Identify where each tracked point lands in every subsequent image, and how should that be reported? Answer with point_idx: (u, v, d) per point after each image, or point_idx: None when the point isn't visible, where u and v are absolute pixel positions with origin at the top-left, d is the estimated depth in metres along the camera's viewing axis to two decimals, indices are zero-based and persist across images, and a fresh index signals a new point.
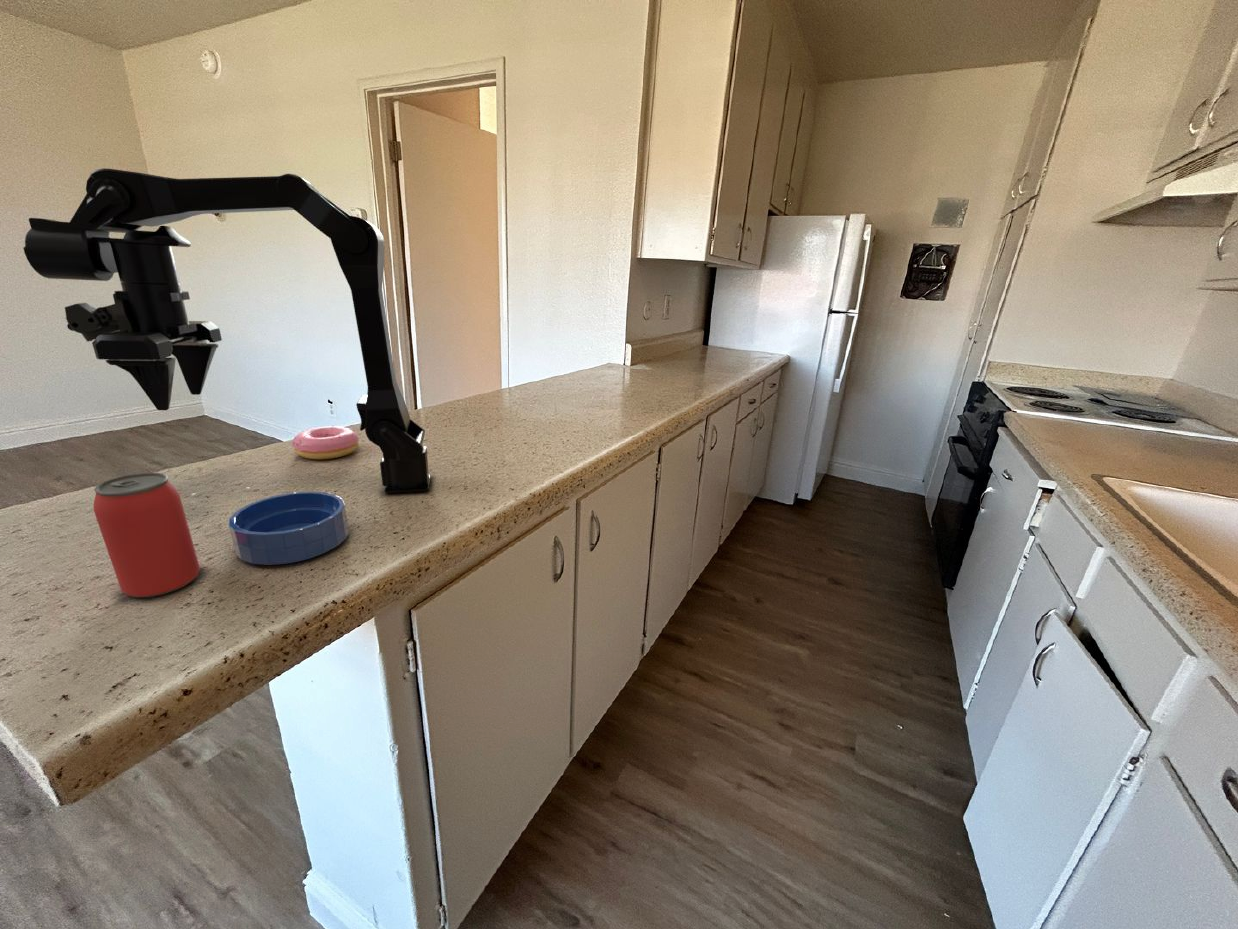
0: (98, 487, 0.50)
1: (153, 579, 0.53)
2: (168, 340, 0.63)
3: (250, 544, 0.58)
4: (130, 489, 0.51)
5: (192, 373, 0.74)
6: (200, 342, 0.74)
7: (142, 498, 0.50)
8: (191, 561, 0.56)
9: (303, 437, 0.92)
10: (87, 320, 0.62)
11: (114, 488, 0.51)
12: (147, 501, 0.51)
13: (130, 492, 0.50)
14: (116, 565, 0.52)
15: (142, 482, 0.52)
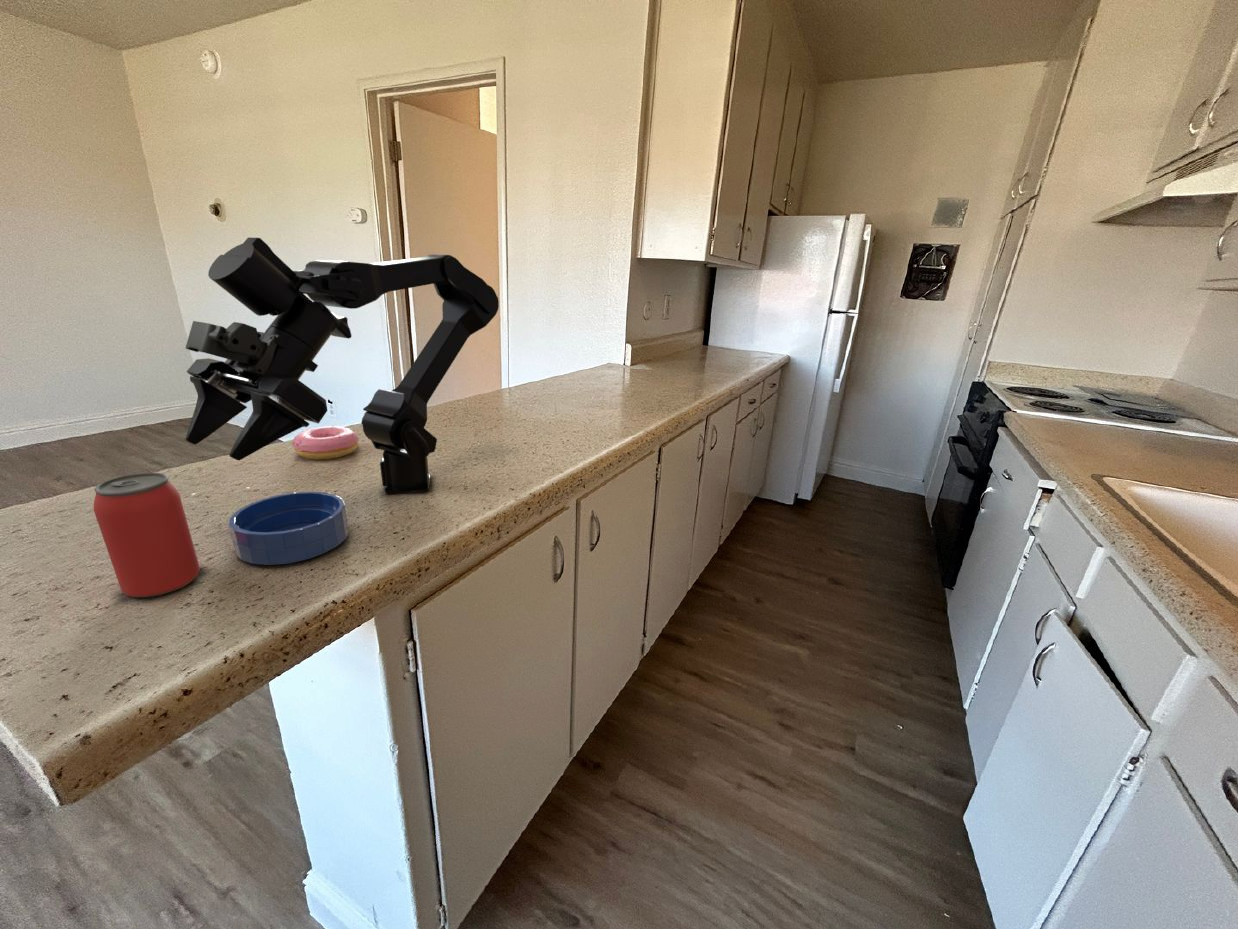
0: (98, 487, 0.50)
1: (153, 579, 0.53)
2: None
3: (250, 544, 0.58)
4: (130, 489, 0.51)
5: (208, 421, 0.61)
6: None
7: (142, 498, 0.50)
8: (191, 561, 0.56)
9: (303, 437, 0.92)
10: (250, 345, 0.55)
11: (114, 488, 0.51)
12: (147, 501, 0.51)
13: (130, 492, 0.50)
14: (116, 565, 0.52)
15: (142, 482, 0.52)
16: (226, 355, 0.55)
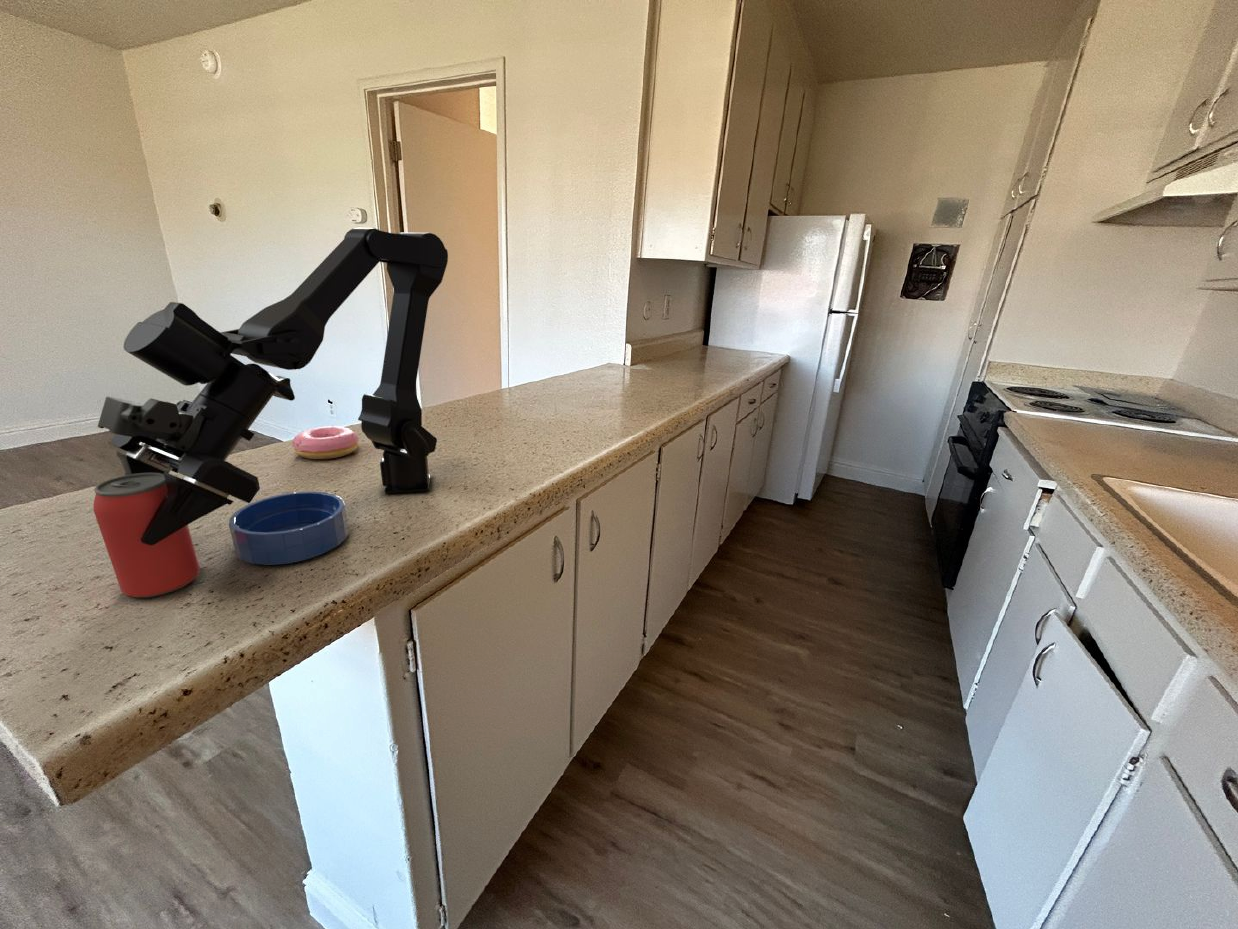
0: (98, 487, 0.50)
1: (153, 579, 0.53)
2: None
3: (250, 544, 0.58)
4: (130, 489, 0.51)
5: None
6: None
7: (142, 498, 0.50)
8: (191, 561, 0.56)
9: (303, 437, 0.92)
10: (169, 423, 0.50)
11: (114, 489, 0.51)
12: (147, 501, 0.51)
13: (130, 492, 0.50)
14: (116, 566, 0.52)
15: (142, 482, 0.52)
16: (142, 434, 0.50)
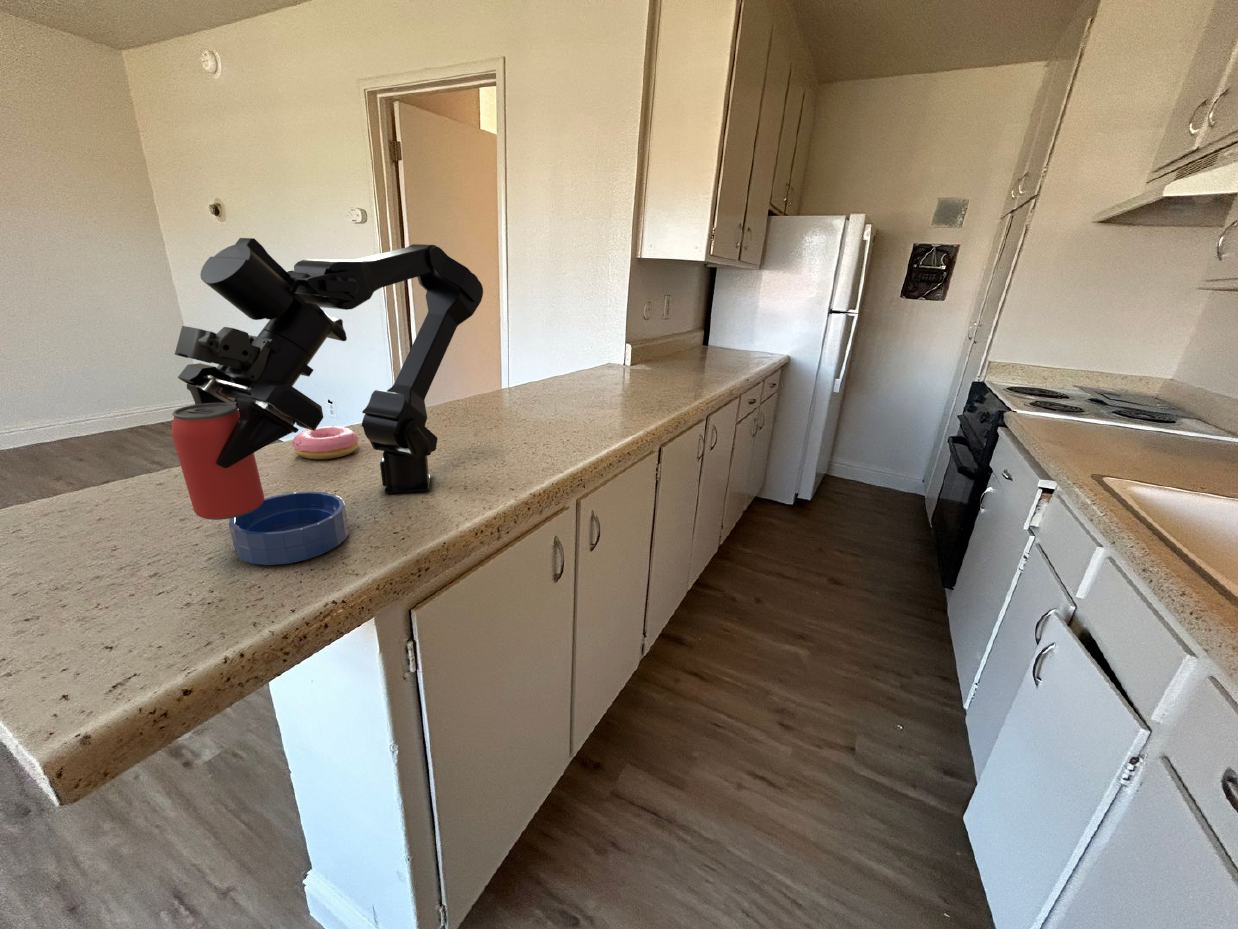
0: (175, 412, 0.53)
1: (226, 501, 0.56)
2: None
3: (250, 544, 0.58)
4: (205, 414, 0.54)
5: None
6: (234, 404, 0.61)
7: (216, 422, 0.53)
8: (258, 488, 0.59)
9: (304, 437, 0.92)
10: (242, 351, 0.53)
11: (190, 414, 0.54)
12: (221, 425, 0.54)
13: (206, 416, 0.53)
14: (192, 488, 0.55)
15: (214, 410, 0.55)
16: (217, 361, 0.53)
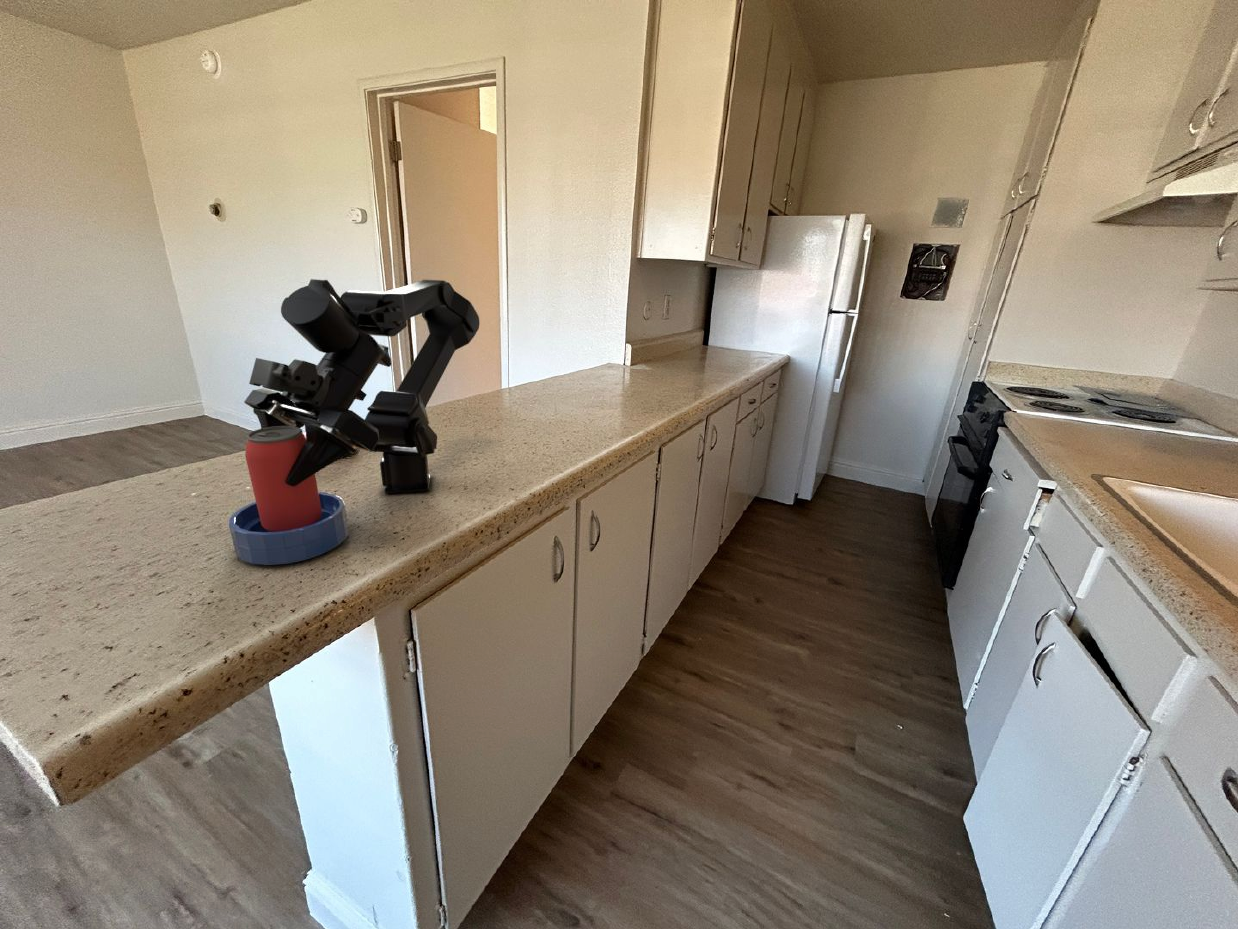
0: (249, 436, 0.59)
1: (292, 516, 0.61)
2: None
3: (250, 544, 0.58)
4: (275, 438, 0.59)
5: None
6: (294, 425, 0.67)
7: (286, 445, 0.59)
8: (318, 504, 0.64)
9: None
10: (310, 381, 0.58)
11: (261, 437, 0.59)
12: (290, 448, 0.59)
13: (278, 439, 0.58)
14: (262, 504, 0.60)
15: (282, 433, 0.61)
16: (288, 390, 0.58)
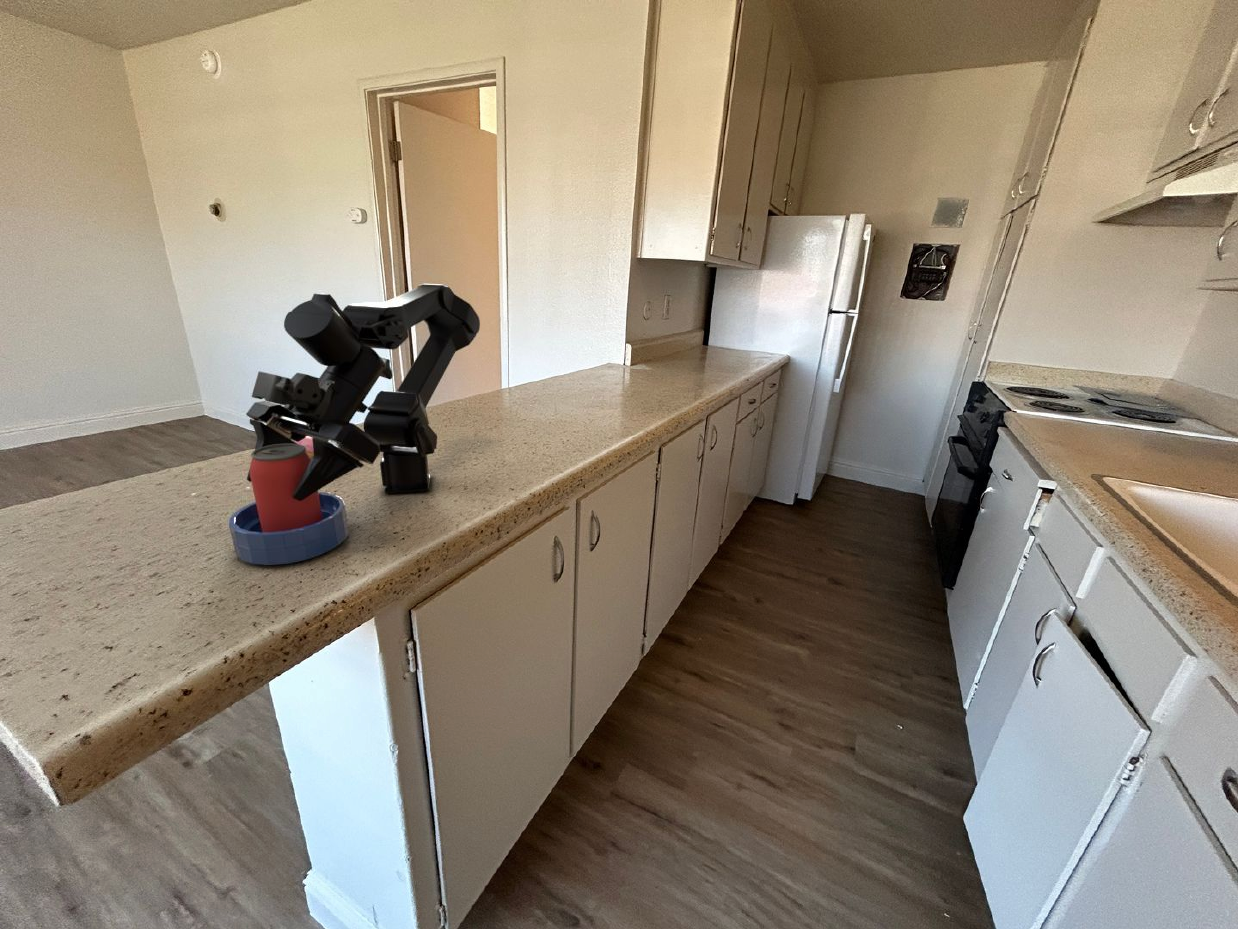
0: (254, 454, 0.60)
1: None
2: None
3: (250, 544, 0.58)
4: (279, 456, 0.60)
5: None
6: None
7: (290, 463, 0.60)
8: (320, 520, 0.65)
9: None
10: (312, 394, 0.59)
11: (266, 455, 0.60)
12: (294, 465, 0.60)
13: (282, 458, 0.59)
14: (265, 521, 0.61)
15: (286, 451, 0.62)
16: (290, 403, 0.59)
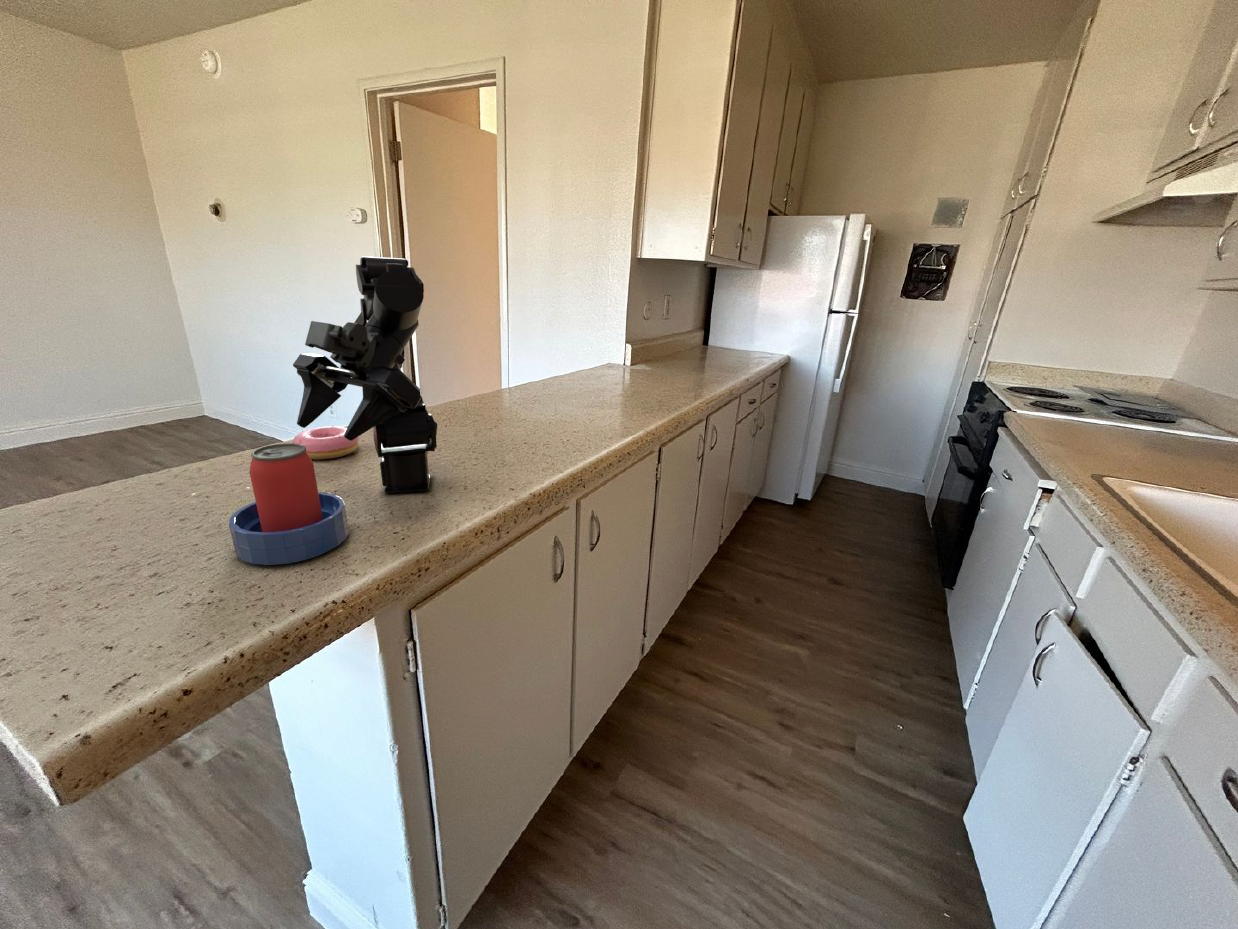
0: (254, 454, 0.60)
1: None
2: None
3: (250, 544, 0.58)
4: (279, 456, 0.60)
5: (313, 407, 0.70)
6: None
7: (290, 463, 0.60)
8: (320, 520, 0.65)
9: (303, 437, 0.92)
10: (361, 342, 0.64)
11: (266, 455, 0.60)
12: (294, 465, 0.60)
13: (282, 458, 0.59)
14: (265, 521, 0.61)
15: (286, 451, 0.62)
16: (341, 350, 0.64)
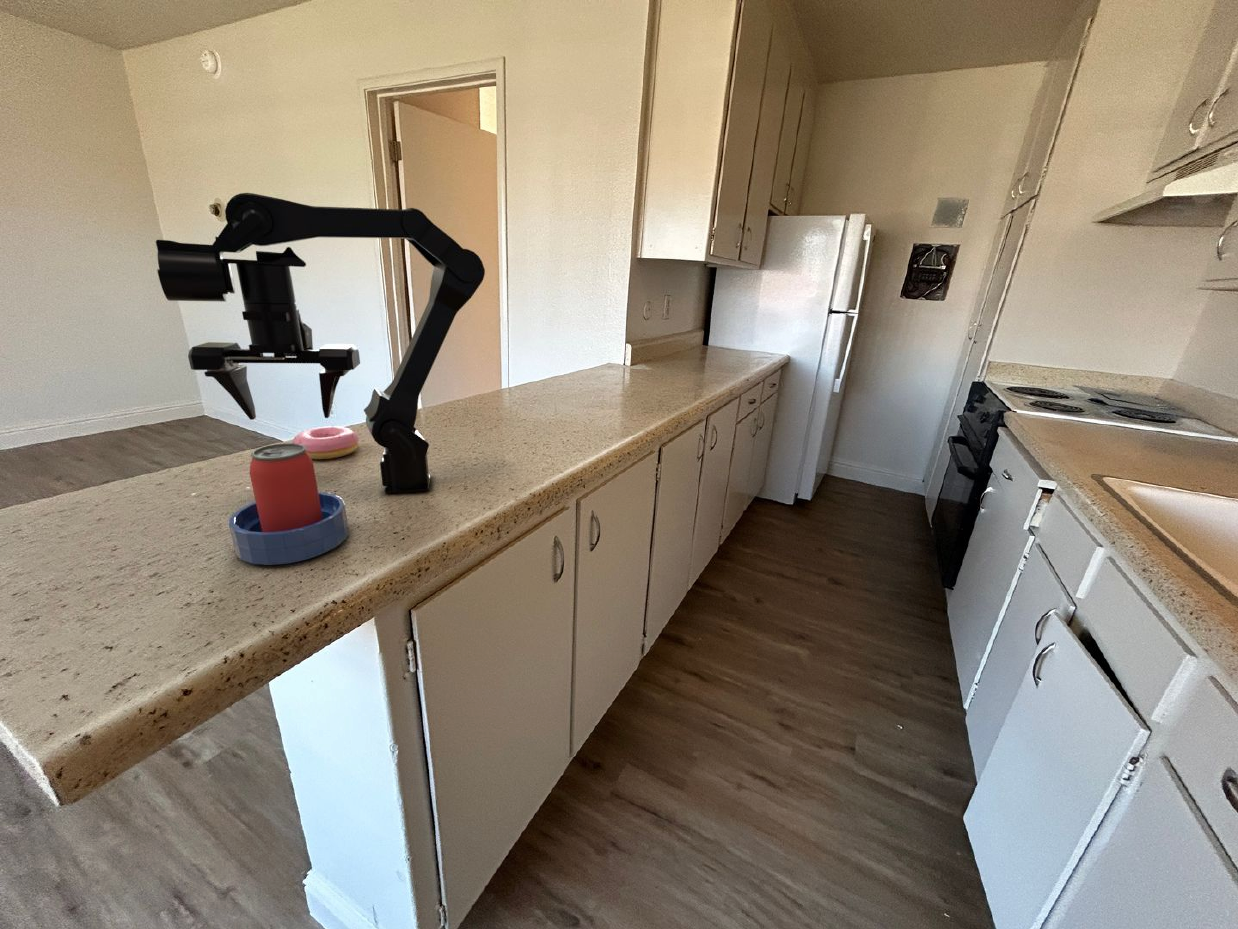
0: (254, 454, 0.60)
1: None
2: (218, 355, 0.64)
3: (250, 544, 0.58)
4: (279, 456, 0.60)
5: None
6: None
7: (290, 463, 0.60)
8: (320, 520, 0.65)
9: (303, 437, 0.92)
10: None
11: (266, 455, 0.60)
12: (294, 465, 0.60)
13: (282, 458, 0.59)
14: (265, 521, 0.61)
15: (286, 451, 0.62)
16: None
